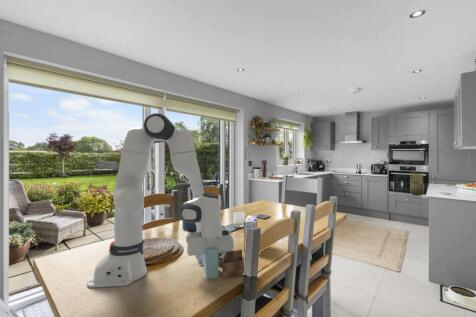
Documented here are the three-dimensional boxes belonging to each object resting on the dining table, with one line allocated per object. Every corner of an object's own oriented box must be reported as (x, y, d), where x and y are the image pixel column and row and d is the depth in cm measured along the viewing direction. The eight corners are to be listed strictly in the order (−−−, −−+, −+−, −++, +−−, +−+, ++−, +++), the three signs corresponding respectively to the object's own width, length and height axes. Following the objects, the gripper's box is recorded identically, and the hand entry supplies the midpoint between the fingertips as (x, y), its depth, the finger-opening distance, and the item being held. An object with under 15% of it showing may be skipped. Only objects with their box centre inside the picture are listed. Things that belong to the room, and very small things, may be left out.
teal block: (206, 279, 100) (206, 250, 100) (203, 269, 108) (203, 242, 108) (218, 277, 101) (218, 249, 101) (214, 267, 110) (214, 241, 110)
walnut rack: (223, 279, 100) (223, 264, 100) (217, 265, 112) (216, 252, 112) (250, 274, 103) (250, 260, 103) (241, 261, 116) (241, 249, 115)
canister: (178, 228, 168) (178, 203, 168) (194, 224, 177) (194, 200, 176) (188, 232, 158) (188, 206, 158) (204, 228, 167) (204, 203, 167)
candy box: (254, 253, 125) (254, 222, 125) (243, 252, 126) (243, 221, 126) (258, 243, 138) (257, 215, 138) (247, 243, 140) (247, 214, 139)
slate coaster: (200, 266, 111) (200, 265, 111) (197, 254, 124) (197, 253, 124) (219, 263, 114) (219, 262, 114) (214, 252, 126) (214, 251, 126)
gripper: (186, 235, 98) (187, 269, 99) (234, 231, 104) (234, 262, 105) (185, 231, 105) (185, 262, 105) (231, 226, 110) (231, 256, 111)
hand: (210, 262), depth 105 cm, fingers open, 8 cm apart
